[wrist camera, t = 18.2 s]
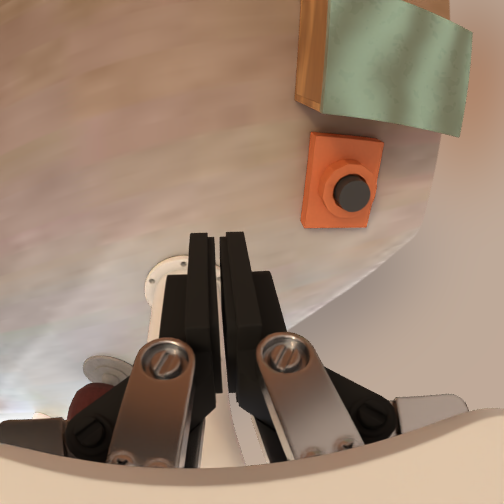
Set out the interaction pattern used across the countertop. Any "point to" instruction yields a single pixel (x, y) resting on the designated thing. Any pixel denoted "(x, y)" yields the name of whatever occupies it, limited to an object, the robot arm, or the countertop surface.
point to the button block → (338, 178)
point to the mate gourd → (98, 381)
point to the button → (352, 193)
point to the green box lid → (395, 65)
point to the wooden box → (311, 52)
